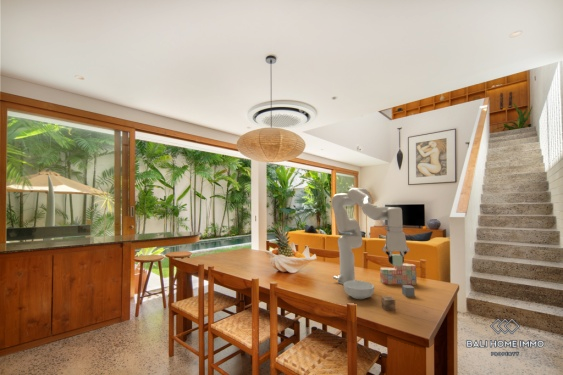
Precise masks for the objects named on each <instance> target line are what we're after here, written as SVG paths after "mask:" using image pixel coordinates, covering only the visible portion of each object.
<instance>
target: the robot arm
mask: <svg viewBox="0 0 563 375" xmlns="http://www.w3.org/2000/svg"><path fill="white" fill-rule="evenodd" d="M372 203H373V198H372V196H370V192H369V190H368V189H366V188H364V187H363V188H362V187H353V188H350V189H348V190H347V193H346V192H345V193H343V192H342V193H336V194H334V195H333V197H332V198H331V207H332V210H333V213H334V218H335V222H336V228H337V231H338V232H339V233H341V234H343V235H340V236H339V237H338V239H337V245H338V250H339V274H338V275H337V276H336V275H333V276H332V279H333V280H337V283H338V284H340V285H344V282H346V281H352V280H356V276H355V275H356V274H355V255H354V251H352V249H358V248H361V247H362V245H363V237H362V231H361V228H360V226H361V225H360V224H359V222H358V220H357V219H355V218H349V217H348V212H347V210H346V209H345V207H346V206H347V207H348V206H355V205H358V206H359V207H361V211H362V213H363V214H364V215H365V216H367V217H368V218H369V219H371V220H373V221H387V226H386V227H385V228H384V231H386V234H385V245H384V246H383V247H382V249H381V251H383V252H384V253H385V254H386V255H387V256H388V262H389V264H390V263H391V264H390V265H392V264H393V260H392V254H393V252H399V255H401V256H403V263H404V262H405V255H407V253H409V252H410V251H411V249H410V248H409V246H408V245H407V238H406V234H405V232H403V230H404V229H403V210H402V207H398V206H397V207H391V206H374V205H373V204H372ZM344 206H345V207H344ZM345 233H346V234H345Z"/></svg>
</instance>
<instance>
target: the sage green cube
mask: <svg viewBox="0 0 563 375" xmlns="http://www.w3.org/2000/svg"><path fill="white" fill-rule="evenodd" d="M392 260H393V264H391V263H389V264H390V265H391V266H393V267H394V266H403V263H404V262H403V256H401V255H400V253H396V254H394V253H392Z"/></svg>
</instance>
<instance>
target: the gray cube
mask: <svg viewBox="0 0 563 375" xmlns="http://www.w3.org/2000/svg"><path fill="white" fill-rule="evenodd" d="M401 293H402V295H403V296H405V297H407V298H408V297H409V298H410V297H411V298H415V297H416V295H415V294H416V291H415V287H414V286H412V285H408V284H401Z"/></svg>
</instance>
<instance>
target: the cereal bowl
mask: <svg viewBox="0 0 563 375" xmlns="http://www.w3.org/2000/svg"><path fill="white" fill-rule="evenodd" d="M343 290H344V292H345V293H346V294H347V295H348V296H350V297H351V298H353V299H354V300H355V299H356V300H365V299H366V298H370V297H371V296H373V295H374V291H375V285H374V284H373V283H371V282H369V281H365V280H357V279H355V280H352V281H346V282H344V284H343Z"/></svg>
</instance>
